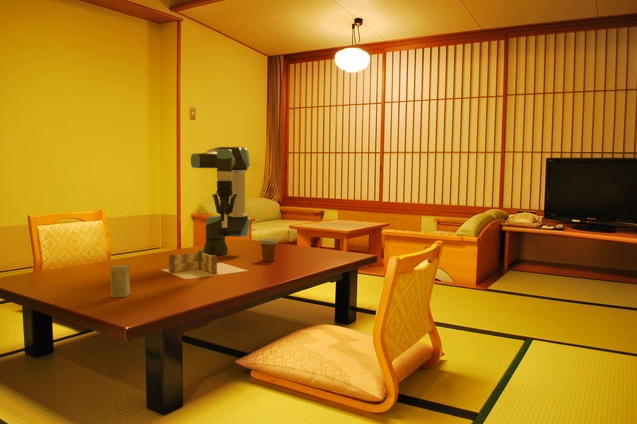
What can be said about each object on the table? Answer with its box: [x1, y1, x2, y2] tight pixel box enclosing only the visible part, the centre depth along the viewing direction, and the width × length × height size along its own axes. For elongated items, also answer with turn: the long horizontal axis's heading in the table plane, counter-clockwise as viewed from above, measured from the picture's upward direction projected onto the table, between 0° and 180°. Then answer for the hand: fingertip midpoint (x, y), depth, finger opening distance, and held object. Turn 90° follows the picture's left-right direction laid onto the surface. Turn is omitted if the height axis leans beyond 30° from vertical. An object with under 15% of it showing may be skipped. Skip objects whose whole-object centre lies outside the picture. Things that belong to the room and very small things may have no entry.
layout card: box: [161, 262, 249, 280], centre depth 252 cm, size 28×34×1 cm
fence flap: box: [201, 253, 218, 274], centre depth 248 cm, size 15×2×9 cm, turn 37°
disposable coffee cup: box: [260, 238, 278, 262], centre depth 284 cm, size 10×10×12 cm
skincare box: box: [109, 264, 131, 298], centre depth 200 cm, size 6×4×12 cm
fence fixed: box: [168, 249, 203, 274], centre depth 250 cm, size 18×2×9 cm, turn 130°
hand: (224, 227), depth 251 cm, fingers closed
